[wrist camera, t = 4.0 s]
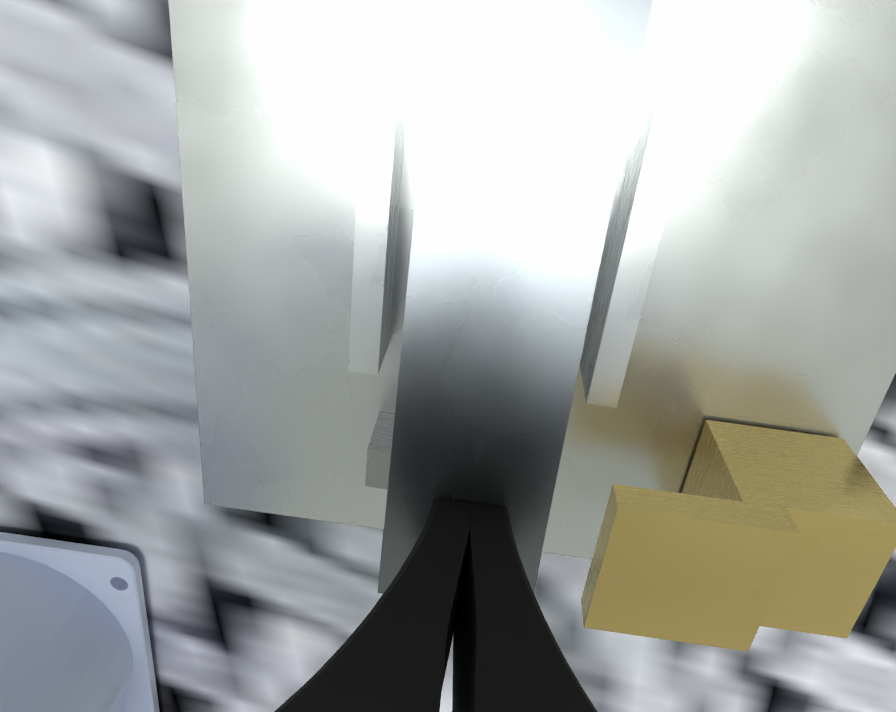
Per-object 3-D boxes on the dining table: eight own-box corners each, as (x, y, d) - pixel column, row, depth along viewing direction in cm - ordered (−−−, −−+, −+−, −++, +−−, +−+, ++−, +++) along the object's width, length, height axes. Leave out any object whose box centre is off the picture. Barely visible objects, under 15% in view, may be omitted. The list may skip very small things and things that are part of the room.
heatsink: (779, 553, 18) (818, 637, 16) (222, 475, 19) (179, 545, 16) (1077, -129, 11) (1226, -162, 9) (183, -230, 12) (98, -288, 9)
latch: (796, 542, 17) (861, 667, 13) (571, 510, 17) (584, 628, 14) (843, 438, 15) (928, 551, 12) (596, 405, 15) (617, 508, 12)
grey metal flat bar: (458, -163, 10) (452, -199, 9) (667, -139, 10) (692, -173, 9) (386, 557, 15) (374, 603, 13) (527, 577, 15) (529, 625, 13)
